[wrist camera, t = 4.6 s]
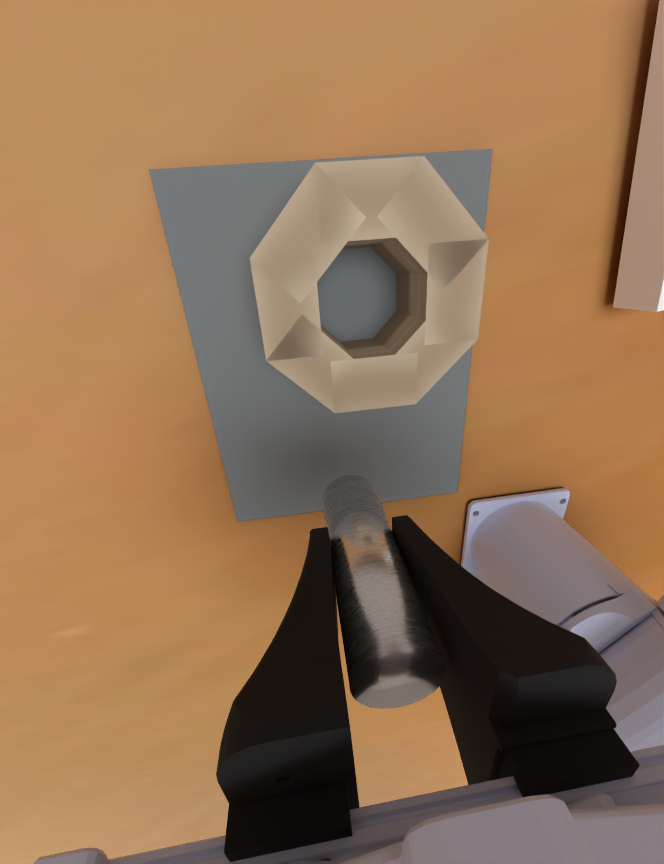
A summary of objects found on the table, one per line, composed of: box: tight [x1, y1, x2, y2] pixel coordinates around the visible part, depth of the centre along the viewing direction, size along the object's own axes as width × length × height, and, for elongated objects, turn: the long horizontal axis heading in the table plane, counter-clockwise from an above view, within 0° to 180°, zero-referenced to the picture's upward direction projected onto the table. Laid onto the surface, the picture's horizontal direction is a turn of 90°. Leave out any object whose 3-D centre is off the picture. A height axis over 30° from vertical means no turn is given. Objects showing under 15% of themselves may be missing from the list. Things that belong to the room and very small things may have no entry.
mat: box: [149, 149, 493, 522], centre depth 20 cm, size 20×16×1 cm
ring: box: [249, 156, 489, 413], centre depth 16 cm, size 10×10×4 cm
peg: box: [322, 475, 447, 708], centre depth 12 cm, size 3×3×8 cm
